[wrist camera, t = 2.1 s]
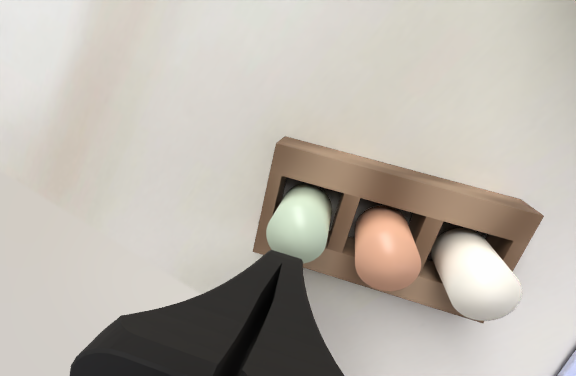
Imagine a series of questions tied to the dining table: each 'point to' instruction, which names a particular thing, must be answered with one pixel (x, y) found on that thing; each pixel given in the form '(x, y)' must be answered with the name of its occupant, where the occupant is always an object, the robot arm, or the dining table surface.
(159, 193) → the dining table surface
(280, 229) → the button sage
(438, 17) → the dining table surface
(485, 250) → the white rounded cylinder
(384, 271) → the salmon pink cylinder
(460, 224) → the wooden three-slot tray
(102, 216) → the dining table surface
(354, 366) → the dining table surface
